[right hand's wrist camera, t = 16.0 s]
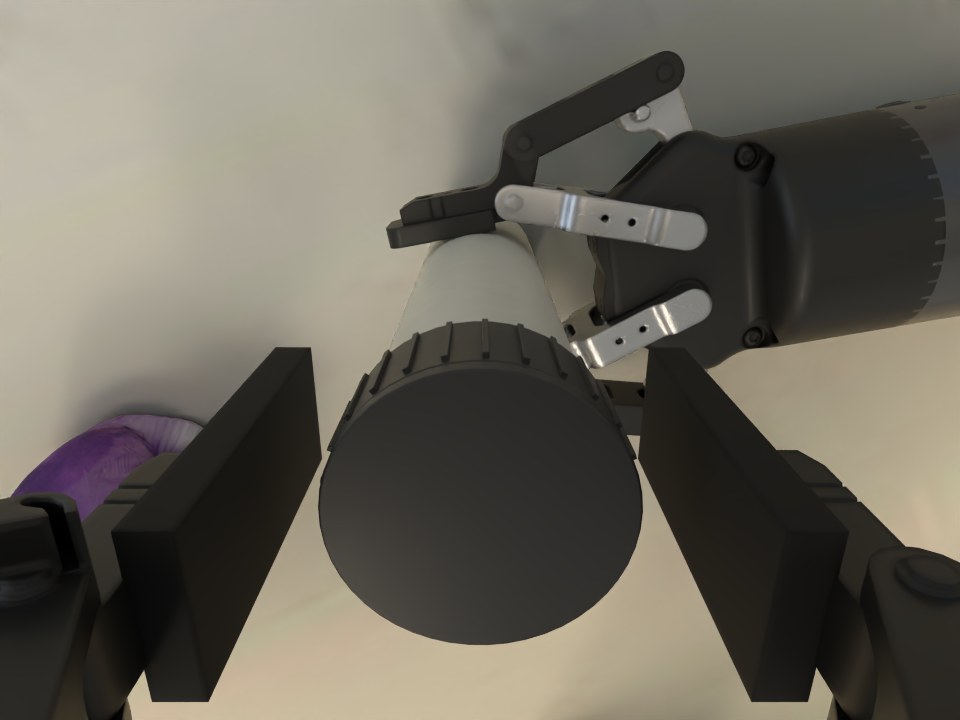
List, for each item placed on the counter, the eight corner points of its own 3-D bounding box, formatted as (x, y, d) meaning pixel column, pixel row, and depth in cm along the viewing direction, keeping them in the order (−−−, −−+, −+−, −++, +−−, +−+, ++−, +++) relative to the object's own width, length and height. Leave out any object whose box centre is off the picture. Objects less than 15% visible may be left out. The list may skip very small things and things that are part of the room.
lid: (287, 411, 12) (243, 477, 10) (526, 260, 11) (538, 295, 9) (443, 598, 14) (436, 693, 11) (665, 482, 13) (704, 560, 10)
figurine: (300, 454, 32) (162, 711, 18) (200, 582, 35) (14, 890, 21) (132, 346, 30) (-169, 541, 16) (40, 491, 33) (-284, 765, 19)
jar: (539, 214, 28) (648, 390, 10) (521, 313, 30) (587, 622, 12) (436, 199, 28) (352, 350, 10) (424, 299, 30) (332, 592, 11)
